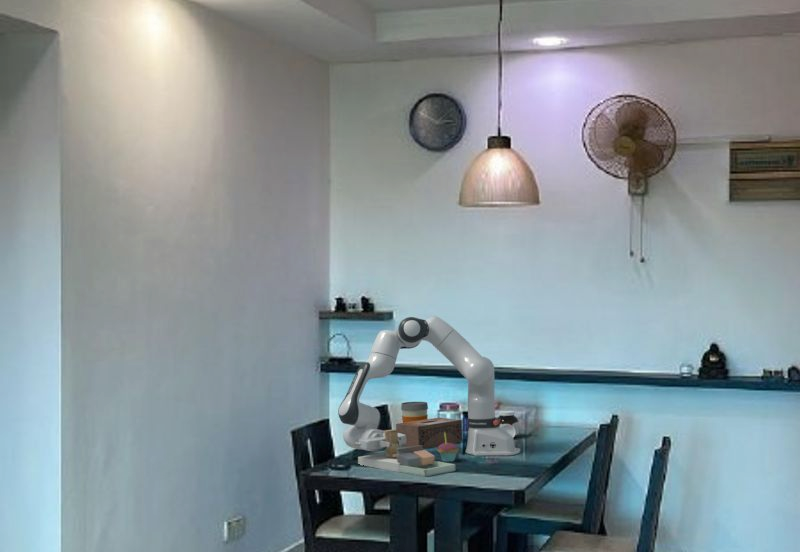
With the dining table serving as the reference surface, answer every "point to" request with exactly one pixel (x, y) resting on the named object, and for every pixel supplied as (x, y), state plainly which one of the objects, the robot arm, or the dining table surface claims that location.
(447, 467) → the tray
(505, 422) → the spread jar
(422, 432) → the tissue box cover
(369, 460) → the slab
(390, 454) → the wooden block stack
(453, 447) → the cupcake
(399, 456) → the charcoal tile
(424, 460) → the terracotta tile
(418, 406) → the reusable coffee cup
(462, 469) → the dining table surface
